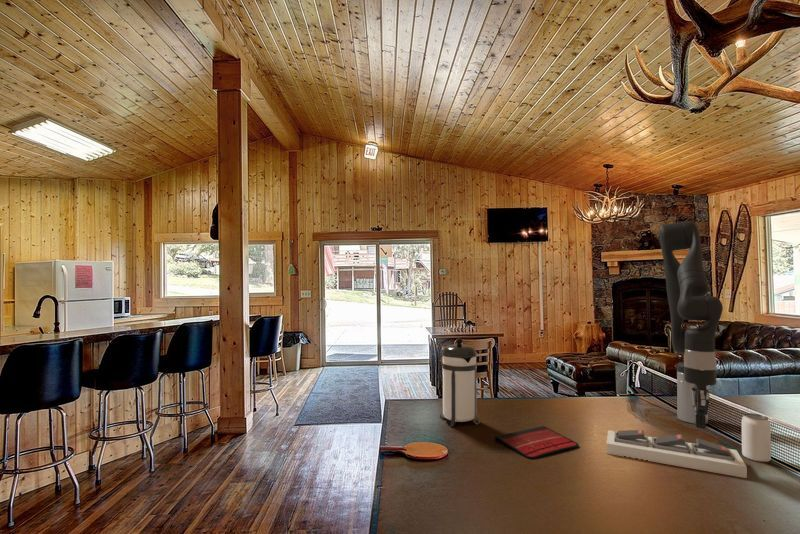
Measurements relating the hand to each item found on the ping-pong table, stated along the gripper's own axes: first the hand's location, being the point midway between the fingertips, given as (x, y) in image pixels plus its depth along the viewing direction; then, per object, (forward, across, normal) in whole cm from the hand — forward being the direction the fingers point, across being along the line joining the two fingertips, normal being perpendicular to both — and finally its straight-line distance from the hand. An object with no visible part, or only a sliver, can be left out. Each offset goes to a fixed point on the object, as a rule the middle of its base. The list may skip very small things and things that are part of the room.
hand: (700, 427), depth 122 cm
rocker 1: (+5, 0, -17) cm, 18 cm away
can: (+10, -11, +15) cm, 21 cm away
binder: (+11, +8, -43) cm, 45 cm away
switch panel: (+10, 0, -7) cm, 12 cm away
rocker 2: (+5, 0, -7) cm, 9 cm away
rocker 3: (+5, 0, +3) cm, 6 cm away
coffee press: (+10, -1, -73) cm, 74 cm away
